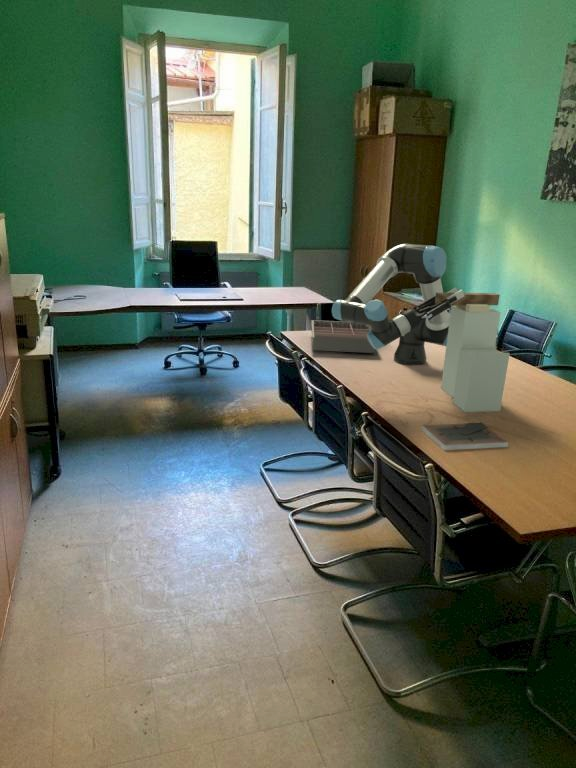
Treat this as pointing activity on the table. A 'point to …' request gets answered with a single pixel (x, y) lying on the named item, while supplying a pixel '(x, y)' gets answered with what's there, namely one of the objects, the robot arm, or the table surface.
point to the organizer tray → (340, 336)
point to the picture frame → (464, 436)
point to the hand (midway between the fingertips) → (459, 291)
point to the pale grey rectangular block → (480, 379)
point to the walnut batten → (470, 298)
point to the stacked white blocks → (467, 336)
